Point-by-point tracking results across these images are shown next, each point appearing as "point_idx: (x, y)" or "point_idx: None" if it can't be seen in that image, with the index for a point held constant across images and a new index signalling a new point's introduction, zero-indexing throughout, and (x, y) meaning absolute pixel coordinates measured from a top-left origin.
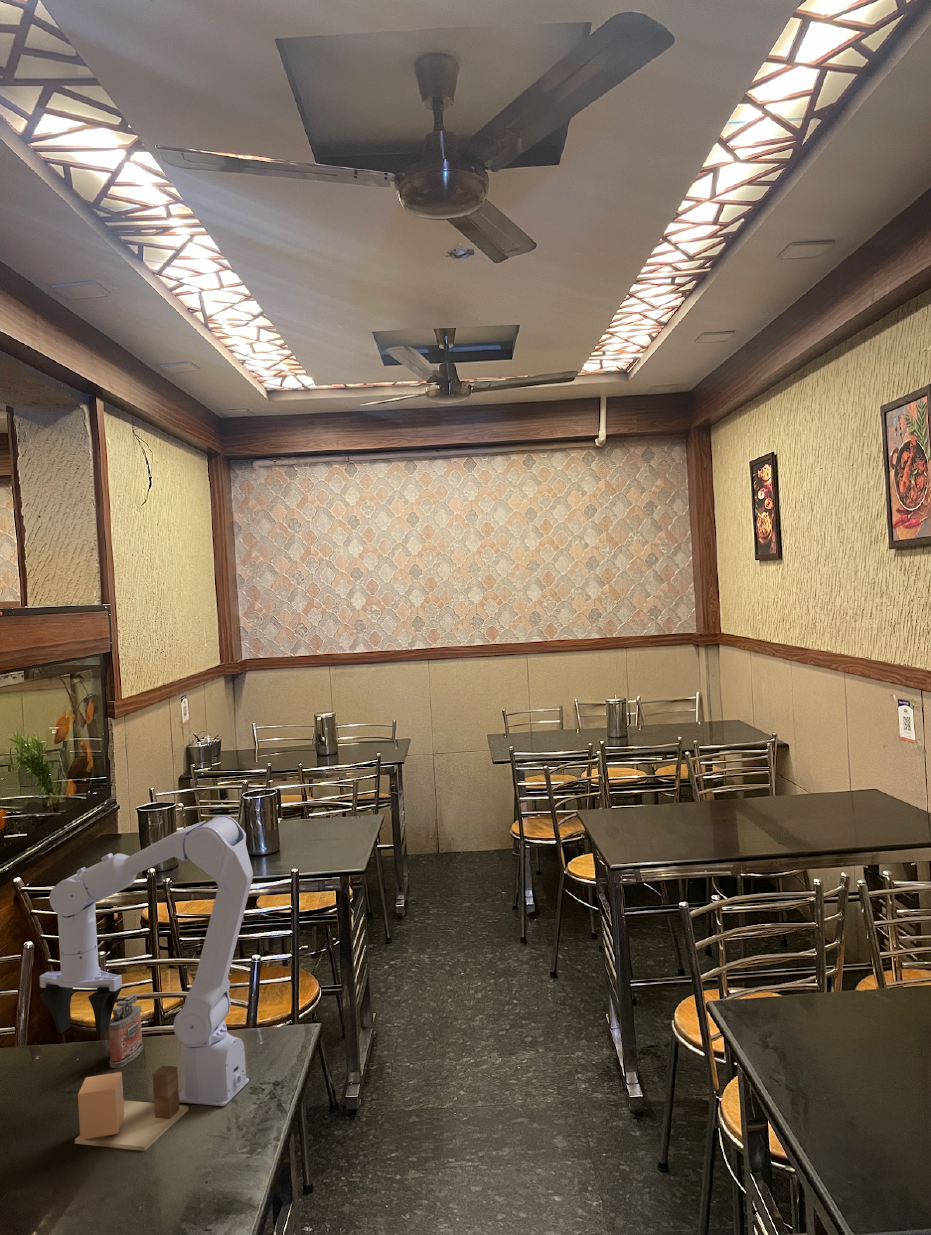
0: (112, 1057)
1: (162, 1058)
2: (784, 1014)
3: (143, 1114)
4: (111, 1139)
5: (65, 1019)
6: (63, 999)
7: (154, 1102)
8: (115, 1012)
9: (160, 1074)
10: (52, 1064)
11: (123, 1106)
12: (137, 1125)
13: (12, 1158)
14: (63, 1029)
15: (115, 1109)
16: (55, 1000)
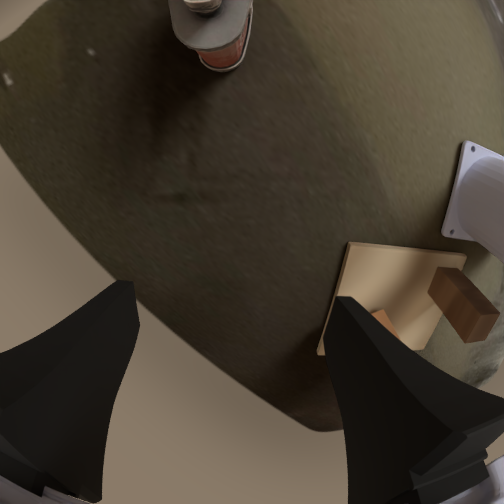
0: (214, 64)
1: (338, 25)
2: None
3: (407, 286)
4: None
5: (118, 330)
6: (81, 417)
7: (439, 307)
8: (206, 7)
9: (476, 341)
10: (49, 92)
11: (389, 321)
12: (405, 314)
13: (238, 380)
14: (135, 320)
15: None
16: (96, 462)
